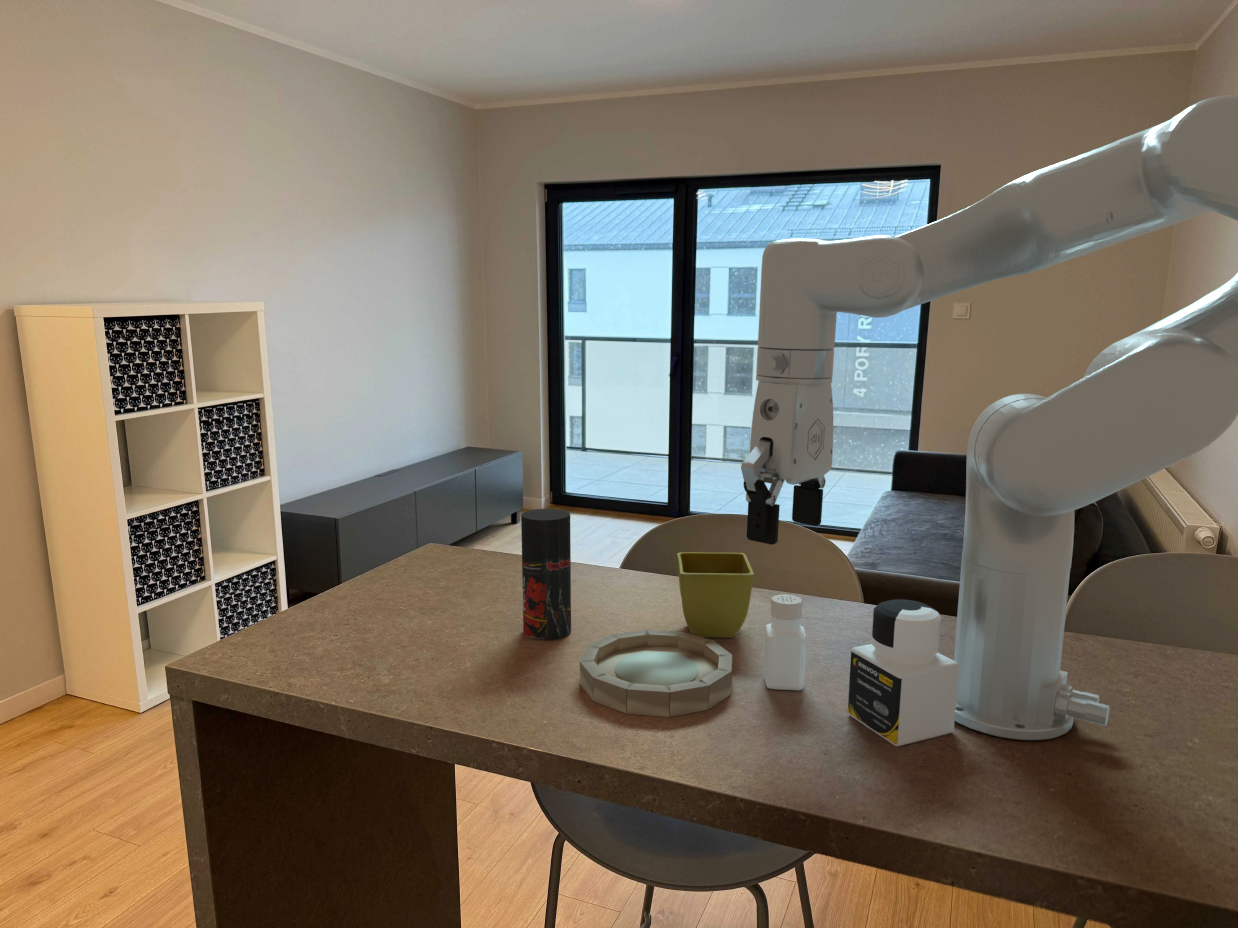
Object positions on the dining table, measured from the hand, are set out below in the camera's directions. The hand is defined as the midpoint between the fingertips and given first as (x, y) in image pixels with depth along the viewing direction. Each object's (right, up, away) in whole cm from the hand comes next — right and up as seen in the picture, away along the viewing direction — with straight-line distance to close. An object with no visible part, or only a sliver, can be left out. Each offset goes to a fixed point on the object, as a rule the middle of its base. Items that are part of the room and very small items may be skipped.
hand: (784, 532), depth 87 cm
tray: (-13, -16, +3) cm, 21 cm away
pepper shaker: (0, -17, +3) cm, 17 cm away
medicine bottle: (+10, -18, -6) cm, 22 cm away
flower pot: (-6, -14, +18) cm, 23 cm away
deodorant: (-26, -14, +17) cm, 34 cm away
